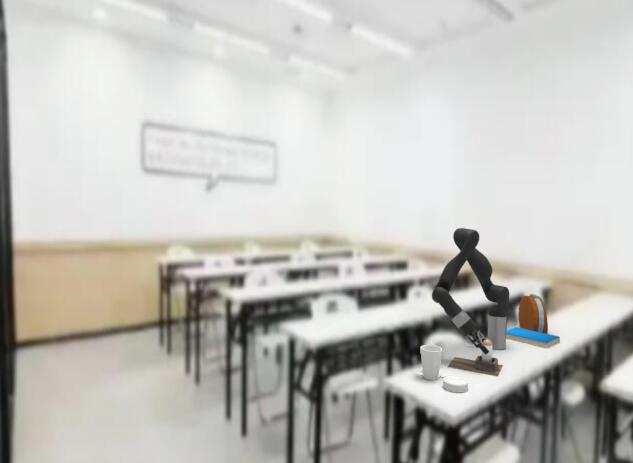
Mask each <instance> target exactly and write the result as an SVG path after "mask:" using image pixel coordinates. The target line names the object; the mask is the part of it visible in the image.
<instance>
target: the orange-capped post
mask: <svg viewBox="0 0 633 463" xmlns="http://www.w3.org/2000/svg"><path fill="white" fill-rule="evenodd" d="M482 343H483V345H484V346H485V347H486V348H487V349H488V350H489V353H488V354H484V353H483V351H482V350H481V356H482V361H485V362H490V363H492V357H493V349H492V342H491V341H490V340H488V338H486V340H484V341H483V342H482Z"/></svg>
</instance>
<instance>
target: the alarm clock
mask: <svg viewBox="0 0 633 463" xmlns="http://www.w3.org/2000/svg"><path fill="white" fill-rule="evenodd" d="M517 315H518V323H519V328H522V329H527V330H531V331H536V332H541V333H545V334H549V333H548V331H549V326H548V324H549V323H548V322H549V321H548V314H547V309H546V305H545V303H544V300H543V299H542V298H541V296H538V295H537V294H534V293H533V294H531V293H530V294H529V295H523V296H522V297H521V299H520V301H519V305H518V314H517Z"/></svg>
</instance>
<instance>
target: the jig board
mask: <svg viewBox="0 0 633 463" xmlns="http://www.w3.org/2000/svg"><path fill="white" fill-rule="evenodd" d="M503 366H504V365H503V364H499V358H497V357H493V356H492V363H490V362H485V361H482V354H479V355H477V357H476V359H475V360H474V359H470V358H469V359H468V358H464V357H463V358H462V357H458V356H454V357H453V359H451V361H450V362H449V364H448V365H447V368H450V369H455V370H460V371H467V372H470V373H471V372H473V373H475V374H476V373H477V374H483V375H486V376H487V375H488V376H492V377H499V376H500V373H501V371H502V368H503Z"/></svg>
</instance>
